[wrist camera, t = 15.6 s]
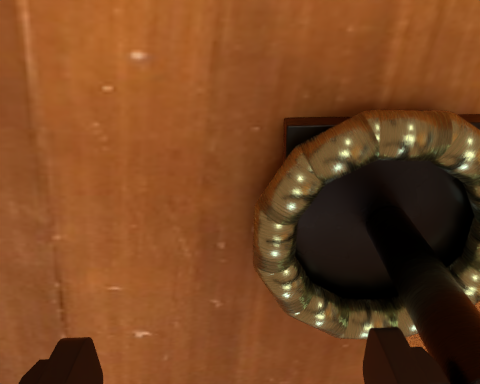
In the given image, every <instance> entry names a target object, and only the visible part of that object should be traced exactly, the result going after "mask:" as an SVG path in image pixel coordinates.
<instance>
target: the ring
mask: <svg viewBox="0 0 480 384" xmlns="http://www.w3.org/2000/svg"><path fill="white" fill-rule="evenodd" d="M376 160H401V161H430V162H431V163H433V164H435V165H436V166H438V167H439V168H441V169H443V170H444V171H446V172H447V173H449V174H451V175H452V176H454V177H455V178H457V179H459V180H460V181H462V182H463V183H464V186H465V189H466V192H467V195H468V198H469V201H470V204H471V207H472V210H473V213H474V219H473V222H472V225H471V228H470V231H469V234H468V236H467V239H466V242H465V245H464V248H463V251H462V254H460V255H459V256H458V257H457V258H456V259H455V260H454V261H453V262H452V263H451V264H450V265H449V266H448V267H447V269H448V271H449V272H450V273H451V275H452V276H453V277H454V279H455V280H456V281H457V283H458V284H459V286H460V287H461V288H462V290H463V291H464V292H465V294H466V295H467V296H468V298H469V299H470V300H471V302H472V303H473V304H474V306H475V305H476V304H477V303H478V302H480V130H479V129H478V128H476V127H475V126H473V125H472V124H470V123H469V122H467V121H466V120H464V119H463V118H461V117H460V116H458V115H457V114H455V113H453V112H449V111H442V110H368V111H364V112H362V113H359V114H357V115H355V116H354V117H352V118H350V119H348V120H346V121H344V122H342V123H340V124H338V125H336V126H334V127H332V128H330V129H328V130H326V131H324V132H322V133H320V134H318V135H316V136H314V137H313V138H311V139H309V140H307V141H305V142H303V143H301V144H299V145H297V146H296V147H295V148H294V149H293V150H292V151H291V153H290V154H289V155H288V157H287V158H286V160H285V161H284V163H283V164H282V166H281V167H280V169H279V170H278V171H277V173H276V174H275V176H274V177H273V179H272V180H271V182H270V183H269V184H268V186H267V187H266V189H265V190H264V192H263V193H262V195H261V196H260V198H259V199H258V201H257V202H256V205H255V209H254V239H253V264H254V268H255V270H256V272H257V273H258V275H259V276H260V278H261V279H262V281H263V282H264V284H265V285H266V286H267V288H268V289H269V291H270V292H271V294H272V295H273V297H274V298H275V300H276V301H277V302H278V304H279V305H280V307H281V308H282V310H283V311H284V312H285V313H286V314H287V315H289V316H291V317H293V318H295V319H297V320H299V321H301V322H304V323H306V324H308V325H310V326H312V327H314V328H316V329H318V330H321V331H323V332H325V333H327V334H329V335H331V336H333V337H336V338H341V339H367V337H368V332H369V329H370V328H384V327H398V328H400V329H401V331H402V332H403V334H404V336H405V338H406V337H409V336H412V335H415V334H418V332H417V330H416V328H415V326H414V324H413V322H412V320H411V318H410V316H409V314H408V312H407V310H406V308H405V306H404V304H403V302H402V300H401V298H400V296H399V295H397V296H395V297H392V298H389V299H386V300H382V299H344V298H342V297H340V296H338V295H336V294H334V293H332V292H330V291H328V290H326V289H324V288H322V287H320V286H318V285H316V284H314V283H312V282H311V281H310V279H309V278H308V276H307V274H306V273H305V271H304V269H303V268H302V266H301V265H300V263H299V261H298V260H297V258H296V256H295V251H296V239H297V227H298V220H299V219H300V218H301V216H302V215H303V214H304V212H305V211H306V210H307V209H308V207H309V206H310V205H311V203H312V202H313V201H314V200H315V198H316V197H317V196H318V194H319V193H320V192H321V190H322V189H323V188H324V187H325V185H326V184H327V183H329V182H332V181H334V180H336V179H338V178H340V177H342V176H344V175H346V174H348V173H351V172H353V171H355V170H357V169H359V168H361V167H363V166H365V165H368V164H370V163H372V162H374V161H376Z"/></svg>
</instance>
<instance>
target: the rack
mask: <svg viewBox="0 0 480 384" xmlns="http://www.w3.org/2000/svg"><path fill="white" fill-rule="evenodd" d="M458 116H460V117H461V118H463V119H464V120H466V121H467V122H469V123H470V124H472V125H473V126H475V127H476V128H478V129H479V130H480V114H469V115H458ZM350 118H352V117H309V118H285V119H284V149H283V163H284V161H285V160H286V158H287V157H288V155H289V154H290V153H291V151H292V150H293V149H294V148H295V147H296V146H297V145H299V144H301V143H303V142H305V141H307V140H309V139H311V138H313V137H314V136H316V135H318V134H320V133H322V132H324V131H326V130H328V129H330V128H332V127H334V126H336V125H338V124H340V123H342V122H344V121H346V120H348V119H350ZM473 219H474V213H473V210H472V207H471V204H470V201H469V198H468V195H467V192H466V189H465V186H464V183H463V182H462V181H460V180H459V179H457V178H455V177H454V176H452V175H451V174H449V173H447V172H446V171H444V170H443V169H441V168H439V167H438V166H436V165H435V164H433V163H431V162H430V161H401V160H376V161H374V162H372V163H370V164H368V165H365V166H363V167H361V168H359V169H357V170H355V171H353V172H351V173H348V174H346V175H344V176H342V177H340V178H338V179H336V180H334V181H332V182H329V183H327V184H326V185H325V187H324V188H323V189H322V190H321V192H320V193H319V194H318V196H317V197H316V198H315V200H314V201H313V202H312V203H311V205H310V206H309V207H308V209H307V210H306V211H305V212H304V214H303V215H302V216H301V218H300V219H299V220H298V227H297V239H296V251H295V256H296V258H297V260H298V261H299V263H300V265H301V266H302V268H303V269H304V271H305V273H306V274H307V276H308V278H309V279H310V281H311V282H312V283H314V284H316V285H318V286H320V287H322V288H324V289H326V290H328V291H330V292H332V293H334V294H336V295H338V296H340V297H342V298H344V299H382V300H386V299H389V298H392V297H395V296H397V295H399V296H400V298H401V300H402V302H403V304H404V306H405V308H406V310H407V312H408V314H409V316H410V318H411V320H412V322H413V324H414V326H415V328H416V330H417V332H418V333H419V335H420V337H421V339H422V341H423V343H424V345H425V347H426V349H427V351H428V353H429V355H430V356H432V357H433V358H434V359H435V360H436V361H437V362H438V363H439V365H440V366H441V368H442V370H443V372H444V373H445V375H446V377H447V379H448V380H449V382H450V384H480V312H479V311H478V310H477V308H476V307H475V306H474V304H473V303H472V302H471V300H470V299H469V298H468V296H467V295H466V294H465V292H464V291H463V290H462V288H461V287H460V286H459V284H458V283H457V281H456V280H455V279H454V277H453V276H452V275H451V273H450V272H449V271H448V269H447V267H448V266H449V265H450V264H451V263H452V262H453V261H454V260H455V259H456V258H457V257H458V256H459V255H460V254H462V251H463V248H464V245H465V242H466V239H467V236H468V234H469V231H470V228H471V225H472V222H473Z"/></svg>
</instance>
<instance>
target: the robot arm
mask: <svg viewBox="0 0 480 384" xmlns="http://www.w3.org/2000/svg"><path fill="white" fill-rule="evenodd" d="M363 376H364V382H365V384H450V382H449V380H448V379H447V377H446V375H445V373H444V372H443V370H442V368H441V366H440V365H439V363H438V362H437V361H436V360H435V359H434V358H433V357H432V356H430V355H429V354H428V353H427V352H426V351H425V350H424V349H423V348H422V347H410V346H409V344H408V342H407V340H406V338H405V336H404V334H403V332H402V331H401V329H400V328H398V327H384V328H370V329H369V332H368V337H367V343H366V349H365V355H364V360H363ZM19 384H103V372H102V369H101V366H100V362H99V359H98V356H97V353H96V349H95V346H94V343H93V340H92V339H91V338H90V337H82V338H62V339H61V340H60V341H59V342H58V343H57V345H56V347H55V349H54V351H53V352H52V354H51V356H50V358H49V359H45V360H39V361H38V362H37V363H36V364H35V365H34V366H33V367H32V368H31V369H30V370H29V371H28V372H27V373H26V374H25V375H24V376H23V377H22V378H21V380H20V382H19Z"/></svg>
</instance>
